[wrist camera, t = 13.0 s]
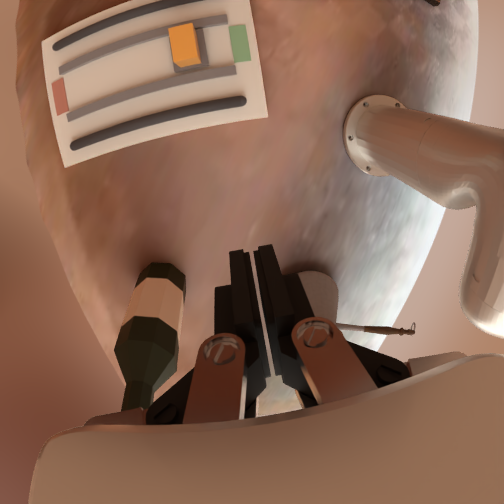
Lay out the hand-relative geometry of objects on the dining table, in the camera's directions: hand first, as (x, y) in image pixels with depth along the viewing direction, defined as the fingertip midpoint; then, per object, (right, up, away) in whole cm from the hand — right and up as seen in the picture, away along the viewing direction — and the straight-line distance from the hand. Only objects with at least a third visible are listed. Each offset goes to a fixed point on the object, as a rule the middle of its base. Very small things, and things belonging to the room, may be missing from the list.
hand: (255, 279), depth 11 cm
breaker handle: (-7, +24, +15) cm, 30 cm away
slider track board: (-14, +25, +18) cm, 34 cm away
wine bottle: (-15, -4, +35) cm, 38 cm away
